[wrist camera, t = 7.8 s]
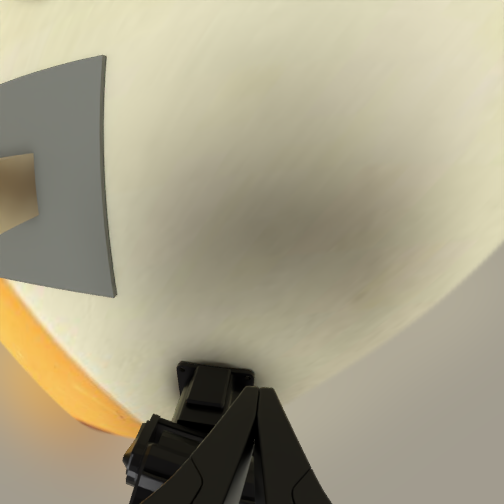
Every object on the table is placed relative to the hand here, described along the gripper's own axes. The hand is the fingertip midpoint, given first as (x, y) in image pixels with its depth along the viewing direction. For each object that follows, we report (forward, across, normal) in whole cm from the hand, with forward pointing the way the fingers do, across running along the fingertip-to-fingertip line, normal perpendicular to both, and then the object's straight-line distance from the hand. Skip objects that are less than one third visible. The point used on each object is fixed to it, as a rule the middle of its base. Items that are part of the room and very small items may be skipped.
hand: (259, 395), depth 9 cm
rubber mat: (+13, +21, -4) cm, 25 cm away
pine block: (+10, +18, -4) cm, 21 cm away
